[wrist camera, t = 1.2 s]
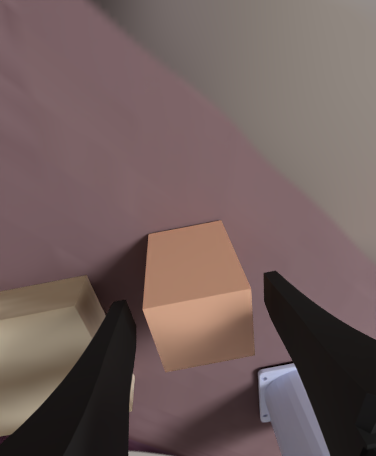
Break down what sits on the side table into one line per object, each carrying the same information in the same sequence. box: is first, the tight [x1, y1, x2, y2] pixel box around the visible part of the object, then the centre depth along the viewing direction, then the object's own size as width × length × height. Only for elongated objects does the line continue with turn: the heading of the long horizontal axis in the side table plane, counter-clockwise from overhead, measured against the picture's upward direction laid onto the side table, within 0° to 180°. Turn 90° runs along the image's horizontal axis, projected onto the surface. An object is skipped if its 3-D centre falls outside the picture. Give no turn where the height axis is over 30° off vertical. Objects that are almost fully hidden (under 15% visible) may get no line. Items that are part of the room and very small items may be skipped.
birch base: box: [0, 275, 135, 436], centre depth 19 cm, size 12×12×3 cm
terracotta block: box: [143, 220, 255, 372], centre depth 14 cm, size 4×4×6 cm
